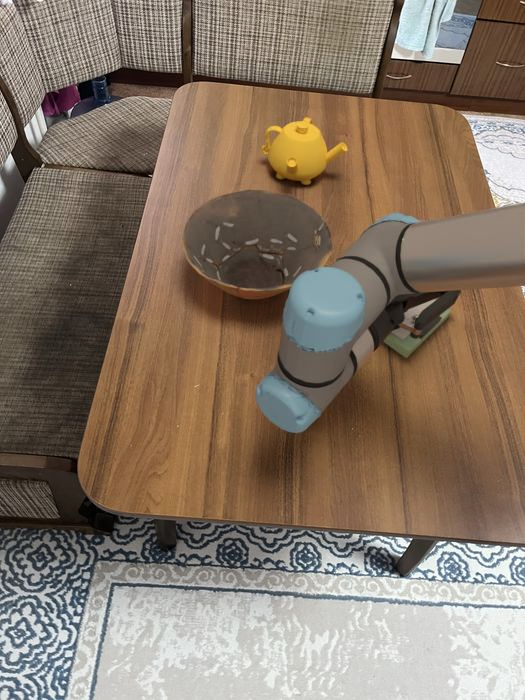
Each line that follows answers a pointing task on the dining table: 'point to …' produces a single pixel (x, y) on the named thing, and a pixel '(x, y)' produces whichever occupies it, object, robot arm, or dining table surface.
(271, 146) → the teapot
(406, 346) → the scale
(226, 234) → the bowl
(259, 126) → the dining table surface
